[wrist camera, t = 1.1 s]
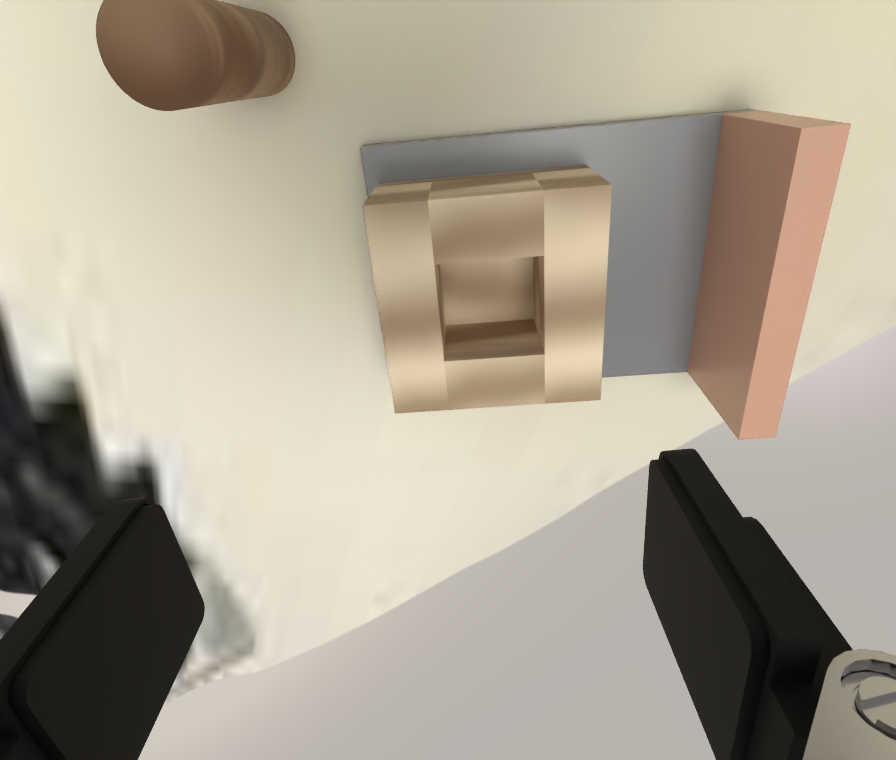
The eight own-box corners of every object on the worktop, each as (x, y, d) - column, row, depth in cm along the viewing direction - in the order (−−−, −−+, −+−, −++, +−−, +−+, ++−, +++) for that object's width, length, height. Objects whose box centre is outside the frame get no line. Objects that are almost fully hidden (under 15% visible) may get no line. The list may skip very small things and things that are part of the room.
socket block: (377, 183, 32) (362, 206, 27) (586, 165, 32) (612, 184, 27) (403, 365, 38) (395, 413, 33) (580, 353, 38) (600, 399, 32)
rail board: (363, 145, 33) (332, 170, 25) (750, 109, 31) (851, 123, 23) (398, 383, 40) (384, 461, 32) (710, 361, 39) (775, 437, 31)
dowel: (211, 15, 30) (77, -13, 19) (285, 7, 29) (191, -26, 19) (232, 99, 32) (120, 115, 21) (302, 92, 31) (224, 105, 21)
